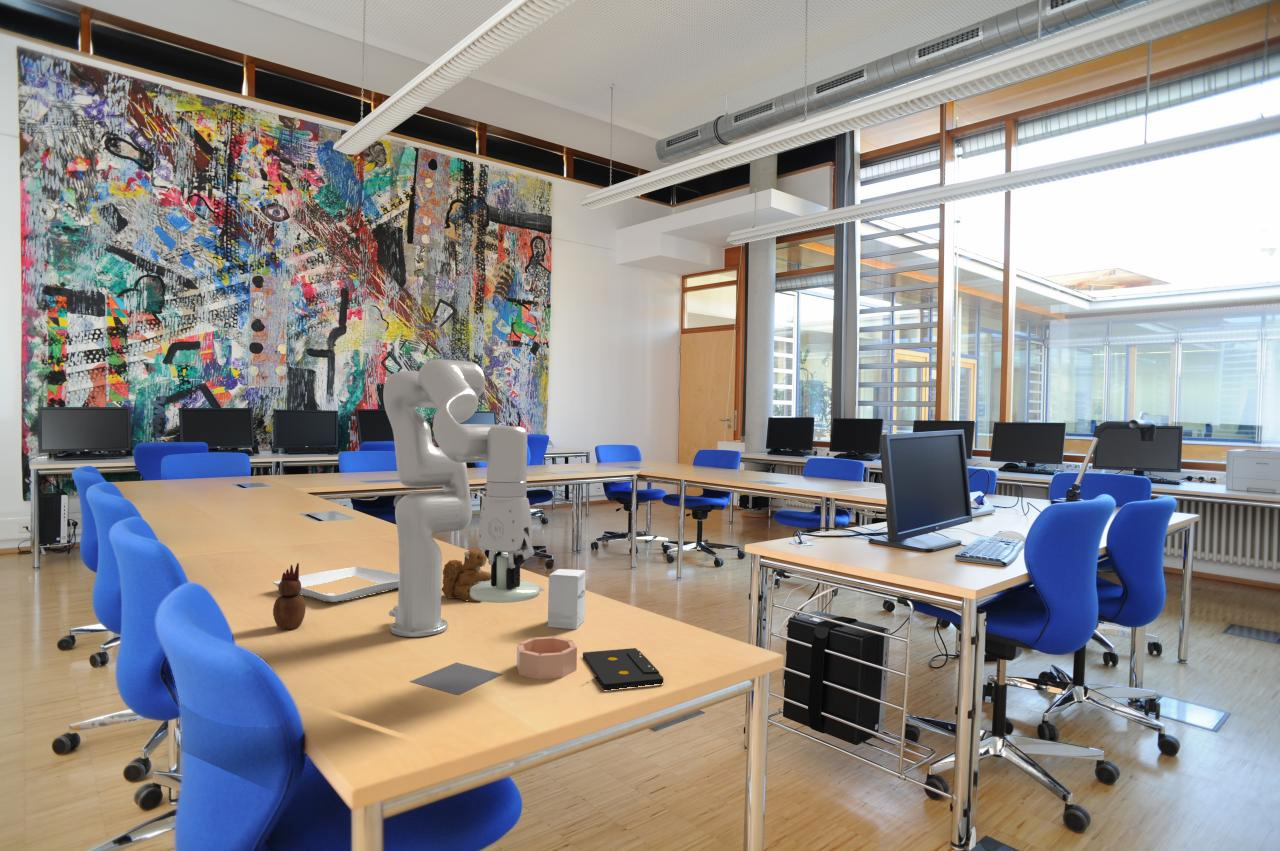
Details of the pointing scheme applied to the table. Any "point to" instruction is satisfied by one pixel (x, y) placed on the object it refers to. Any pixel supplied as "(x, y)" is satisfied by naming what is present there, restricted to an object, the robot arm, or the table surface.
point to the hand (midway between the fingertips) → (505, 585)
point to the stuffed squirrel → (464, 575)
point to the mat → (456, 678)
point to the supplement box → (566, 598)
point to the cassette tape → (622, 668)
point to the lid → (503, 587)
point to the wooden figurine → (289, 601)
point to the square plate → (374, 575)
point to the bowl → (546, 657)
